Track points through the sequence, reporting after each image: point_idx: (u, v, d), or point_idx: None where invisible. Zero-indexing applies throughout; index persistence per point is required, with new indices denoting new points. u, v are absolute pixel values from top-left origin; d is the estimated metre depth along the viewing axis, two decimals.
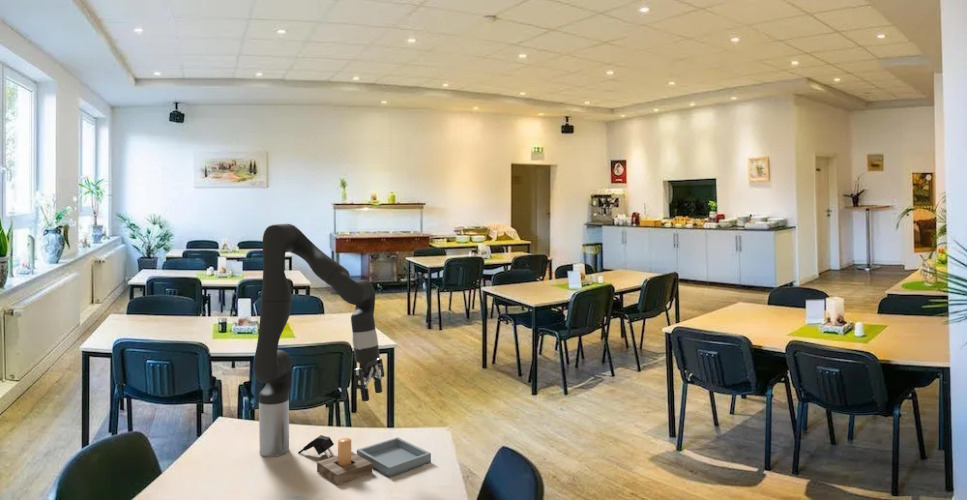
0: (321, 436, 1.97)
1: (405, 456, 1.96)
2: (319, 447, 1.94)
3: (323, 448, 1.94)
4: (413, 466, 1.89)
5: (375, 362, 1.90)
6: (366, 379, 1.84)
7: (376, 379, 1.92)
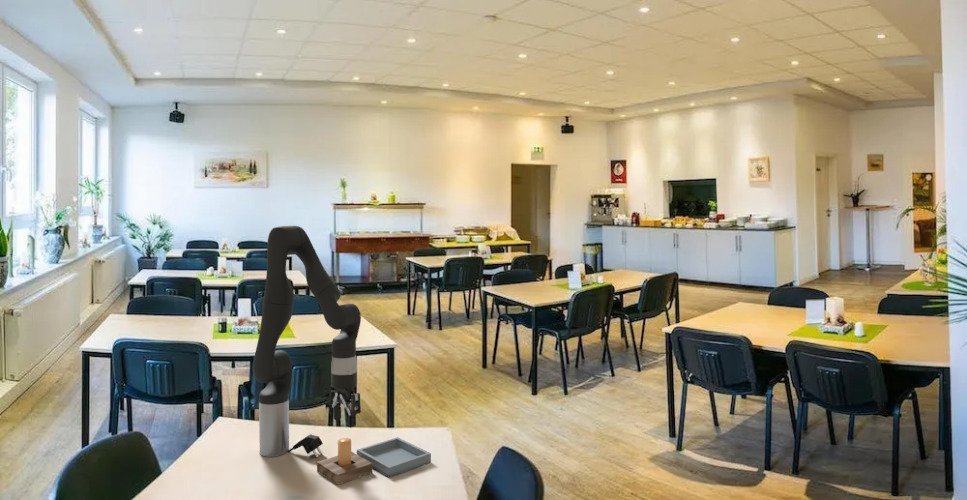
0: (310, 435, 1.98)
1: (405, 456, 1.96)
2: (307, 446, 1.95)
3: (311, 447, 1.95)
4: (413, 466, 1.89)
5: None
6: None
7: (337, 405, 1.87)
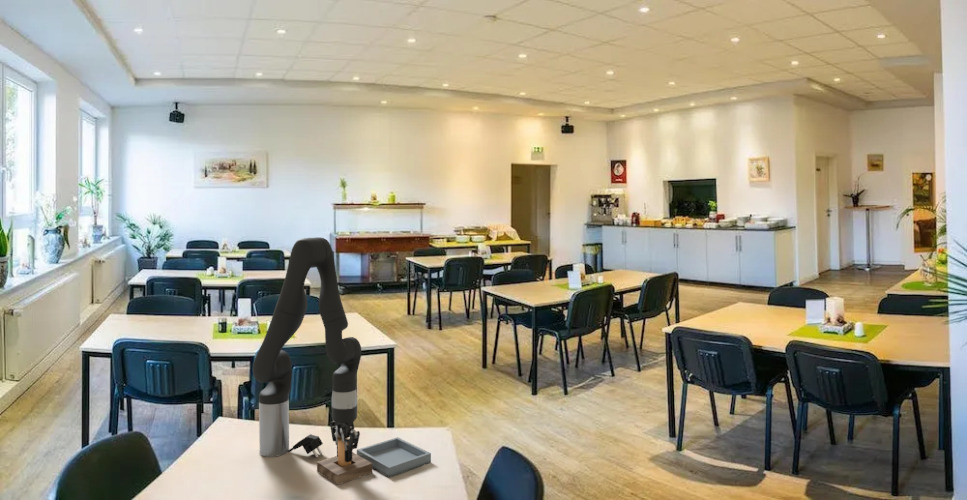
0: (310, 435, 1.98)
1: (405, 456, 1.96)
2: (307, 446, 1.95)
3: (311, 447, 1.95)
4: (413, 466, 1.89)
5: None
6: None
7: None
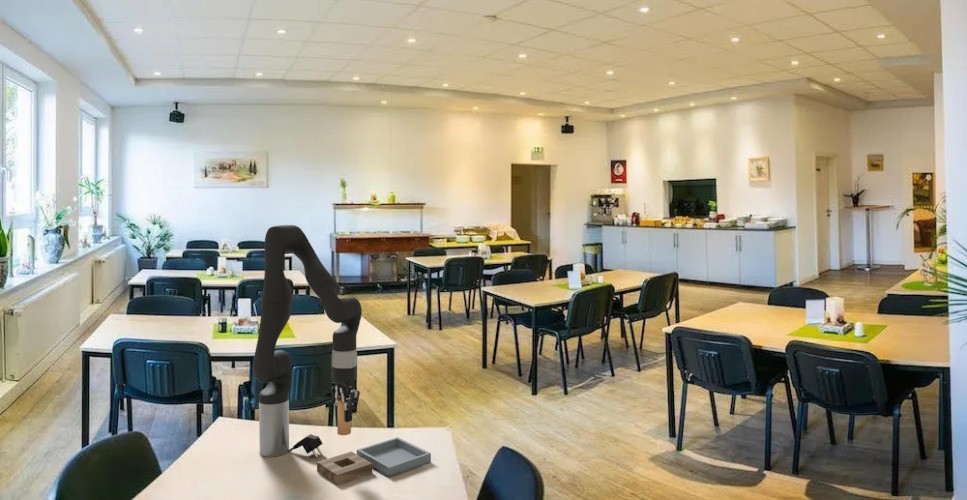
0: (310, 435, 1.98)
1: (405, 456, 1.96)
2: (307, 446, 1.95)
3: (311, 447, 1.95)
4: (413, 466, 1.89)
5: None
6: None
7: None
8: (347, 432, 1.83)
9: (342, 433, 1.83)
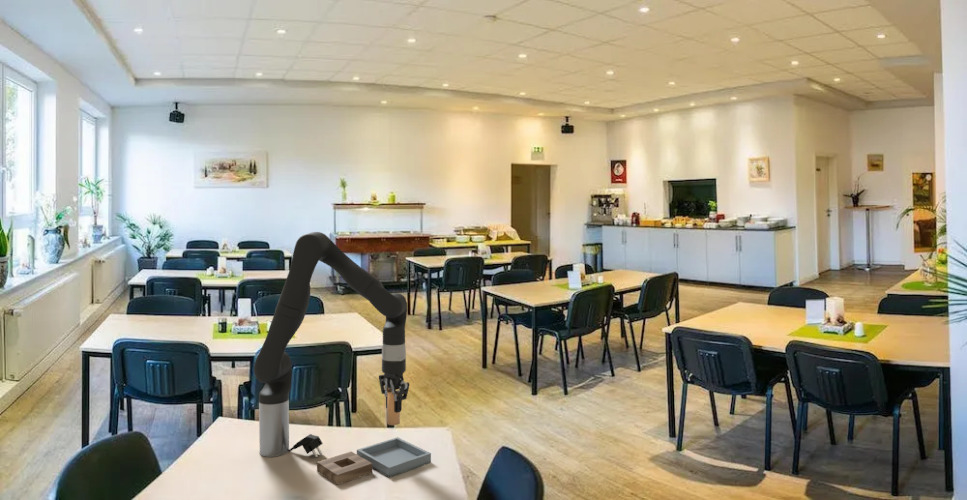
0: (310, 435, 1.98)
1: (405, 456, 1.96)
2: (307, 446, 1.95)
3: (311, 447, 1.95)
4: (413, 466, 1.89)
5: None
6: None
7: None
8: (397, 422, 1.92)
9: (392, 423, 1.91)
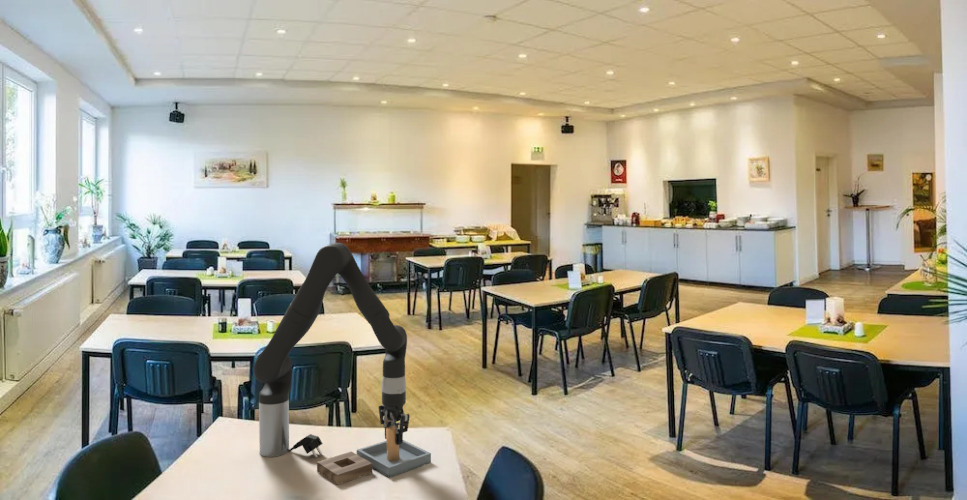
0: (310, 435, 1.98)
1: (405, 456, 1.96)
2: (307, 446, 1.95)
3: (310, 447, 1.95)
4: (413, 466, 1.89)
5: None
6: None
7: (388, 426, 1.95)
8: (396, 458, 1.93)
9: (392, 459, 1.92)
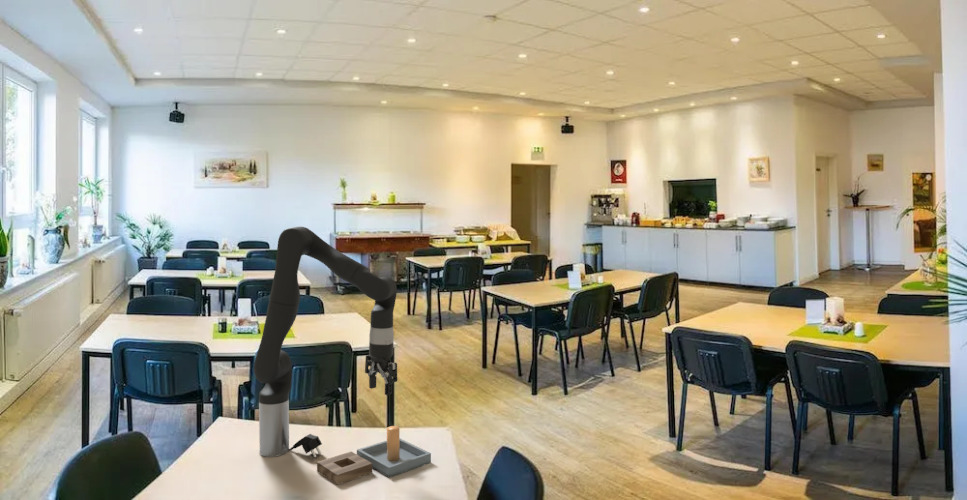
0: (309, 435, 1.98)
1: (405, 456, 1.96)
2: (306, 446, 1.95)
3: (309, 447, 1.95)
4: (413, 466, 1.89)
5: None
6: None
7: (372, 375, 1.94)
8: (396, 458, 1.93)
9: (392, 459, 1.92)
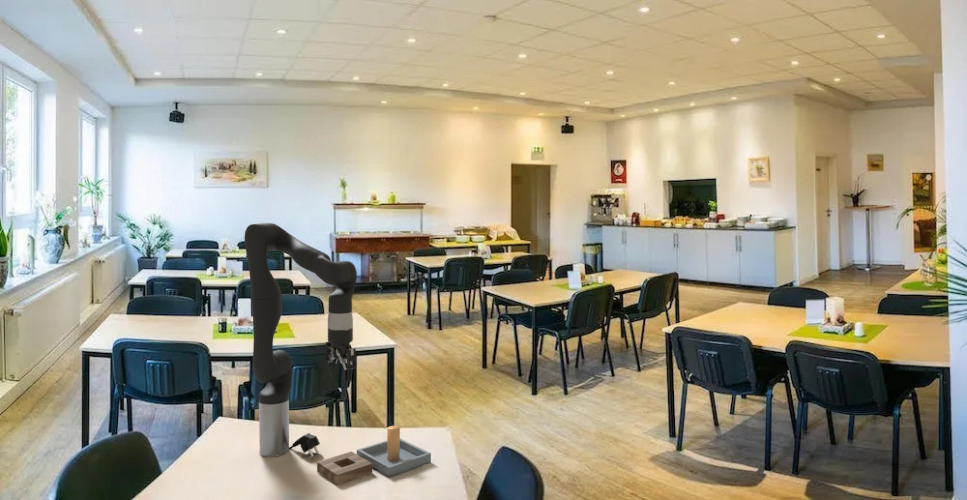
0: (308, 434, 1.99)
1: (405, 456, 1.96)
2: (303, 445, 1.96)
3: (306, 446, 1.96)
4: (413, 466, 1.89)
5: None
6: None
7: (333, 362, 1.90)
8: (396, 458, 1.93)
9: (391, 459, 1.92)
